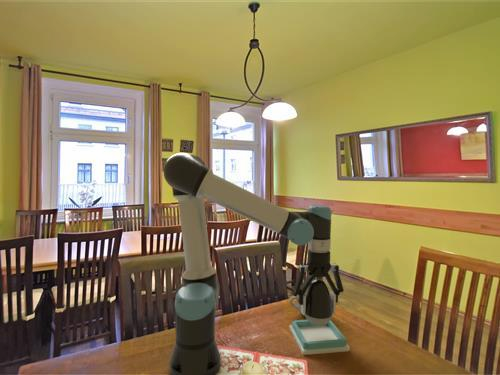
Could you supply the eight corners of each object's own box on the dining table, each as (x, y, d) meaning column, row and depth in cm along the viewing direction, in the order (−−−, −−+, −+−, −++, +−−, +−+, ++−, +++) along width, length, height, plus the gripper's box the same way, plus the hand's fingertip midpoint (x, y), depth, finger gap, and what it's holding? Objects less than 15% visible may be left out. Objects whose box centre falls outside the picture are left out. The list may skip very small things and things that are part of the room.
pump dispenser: (308, 313, 109) (309, 272, 108) (336, 320, 103) (336, 277, 103) (297, 323, 100) (298, 280, 100) (327, 332, 94) (328, 286, 94)
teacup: (321, 308, 125) (321, 290, 124) (325, 321, 114) (325, 301, 113) (288, 306, 126) (289, 289, 126) (289, 319, 115) (290, 300, 115)
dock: (302, 354, 93) (303, 345, 93) (289, 328, 109) (289, 320, 108) (349, 351, 95) (350, 341, 95) (329, 325, 111) (330, 317, 111)
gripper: (290, 254, 95) (289, 319, 96) (355, 251, 98) (353, 315, 99) (284, 248, 102) (283, 309, 103) (345, 246, 105) (343, 305, 107)
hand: (318, 312), depth 101 cm, fingers closed on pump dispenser, 10 cm apart
